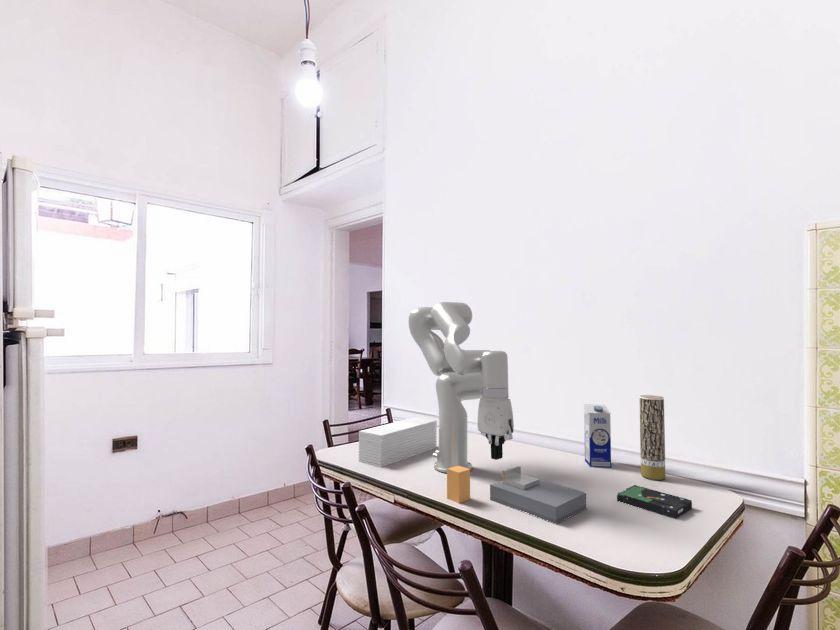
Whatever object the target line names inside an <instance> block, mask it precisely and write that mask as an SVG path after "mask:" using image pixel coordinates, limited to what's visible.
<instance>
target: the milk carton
mask: <svg viewBox="0 0 840 630" xmlns="http://www.w3.org/2000/svg"><path fill="white" fill-rule="evenodd" d="M583 407H584V409H583V410H584V412H583V413H584V414H583V415H584V425H583V427H584V462H585V463H586V464H587V465H588V466H589V467H590V468H591V467H592V468H612V446H611V444H612V442H611V440H612V439H611V438H612V436H611V435H612V434H611V427H612V426H611V412H610V410H609V409H608V407H607V406H606V405H605V404H591V403H590V404H586V403H585V404H583Z"/></svg>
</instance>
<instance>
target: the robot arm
mask: <svg viewBox="0 0 840 630" xmlns="http://www.w3.org/2000/svg"><path fill="white" fill-rule="evenodd" d="M472 320H473V311H472V309H471V307H470V306H469V305H468V304H467V303H464V302H459V301H458V302H457V301H456V302H454V301H453V302H452V301H443V302H442V301H441V302H438V303H436V304H435V305H434V306H433V307H431V306H430V307H429V306H422V307H421V306H420V307H417V308H415V309H413V310H412V311H411V312H410V313H409V316H408V329H409V332H410V335H411V336H412V339H413V341H414V342H415V343H416V345H417V346H418V347H419V349H420V351H421V352H422V355H423V357H424V358H425V360H426V362H427V365H428V367H429V369H430V371H431V372H432V374H433V375H435V376H437V379H436V382H435V391H436V392H435V393H436V397H437V405H438V449H436V450H435V452H433V453H432V457H433V458H435V459H436V461H435V463H434V464H433V467H434V469H435V470H436V471H438V472H440V473H445V474H447V469H448V468H451V467H455V466H461V467H464V468H468V469H470V471H472V470H473V464H472V463H471V462H470V461H469V460H468V414H467V410H466V408H465V407H464V405H463V403H462V401H463V402H464V401H469V400H470V401H471V400H478V399H479V403H478V409H477V430H478V431H479V432H480V434H481V436H483V437H484V438H485V437H486V439H487V441H488V444H489V445H490V459H492V460H501V459H503V455H504V454H503V453H504V452H503V445H505V443H506V441H511V440H513V439H514V437H513V433H514V431H515V430H514V412H513V407H512V402H511V399H510V398H509V366H508V365H509V364H508V363H509V362H508V354H507V352H506V351H503V350H490V349H467V350H466V349H462V348H461V347H460V345H462V344H463V343H465V341H467V339H468V338H469V336H470V334H471V328H470V326H469V325H470V324H471V323H472ZM434 331H441V333H442V335H443V336H444V337H445V341H443V339H442V337H440V336H439V335H438V334H437V333H435V332H434Z"/></svg>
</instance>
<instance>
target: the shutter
mask: <svg viewBox="0 0 840 630" xmlns="http://www.w3.org/2000/svg"><path fill="white" fill-rule="evenodd" d="M521 467H522V466H520V465H517V466H513V467H511V468H507V469H505V470H502V480H503V483H505V484H508V485H511V486H514V487H517V488H520V489H523V490H525V489H527V488H530V487H533V486H535V485H538V484H540V479H541V478H537V477H534V476H531V477H530V475H527V474H524V473H522V471H521ZM523 474H524V475H523Z"/></svg>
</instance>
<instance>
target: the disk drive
mask: <svg viewBox="0 0 840 630" xmlns="http://www.w3.org/2000/svg"><path fill="white" fill-rule="evenodd" d="M619 501H620V502H619ZM616 502H619V503H622V502H623V503H622V504H625V503H626V504H625V505H628V504H629V506H631V505H632V507H635V508H638V507H639V508H638V509H641V508H642V510H644V509H645V511H647V512H651V513H655V514H658V515H661V516H664V517H667V518H671V519H672V520H673V519H675V520H677V519H679V518H680V517H682V516H683V515H685V514H687V513H688V512H689V511H691V510H693V500H691V499H688V498H684V497H680V496H677V495H674V494H671V493H665V492H663V491H662V492H661V491H658V490H656V489H655V490H654V489H651V488H647V487H644V486H639V485H636V484H634V485H631V486H629V487H627V488H625V490H624V489H623V490H622V491H621V492H620V491H618V492H617V495H616Z"/></svg>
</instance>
